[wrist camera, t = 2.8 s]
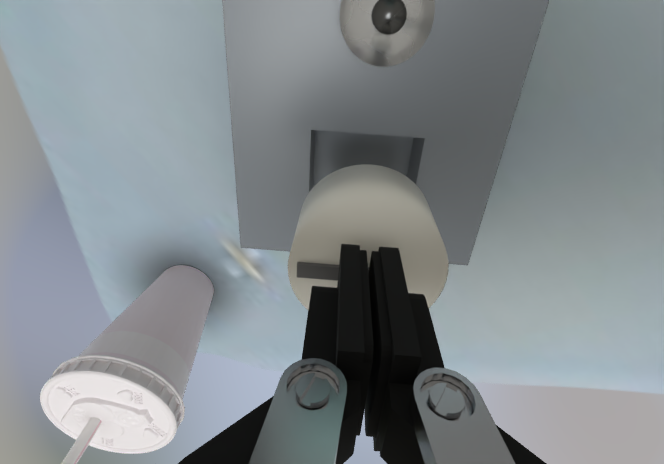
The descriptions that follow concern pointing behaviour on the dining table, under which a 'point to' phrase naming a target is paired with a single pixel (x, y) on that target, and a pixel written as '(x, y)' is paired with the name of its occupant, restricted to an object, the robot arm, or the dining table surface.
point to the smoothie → (133, 370)
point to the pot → (386, 28)
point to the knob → (366, 230)
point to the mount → (372, 109)
